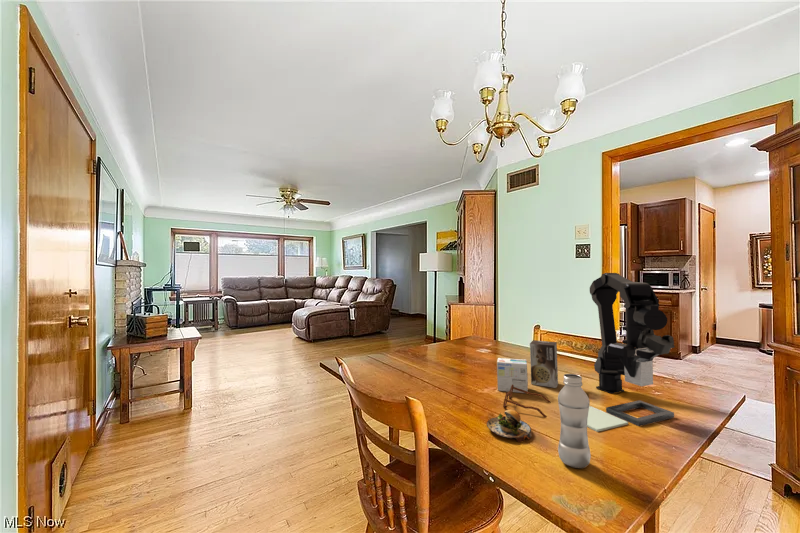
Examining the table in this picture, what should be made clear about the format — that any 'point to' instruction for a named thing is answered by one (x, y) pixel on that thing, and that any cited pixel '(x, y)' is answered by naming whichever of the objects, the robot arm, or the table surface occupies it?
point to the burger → (510, 426)
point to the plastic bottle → (573, 423)
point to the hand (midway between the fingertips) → (638, 375)
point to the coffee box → (544, 363)
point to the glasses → (520, 404)
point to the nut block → (641, 373)
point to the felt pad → (602, 420)
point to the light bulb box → (512, 374)
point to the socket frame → (659, 416)
